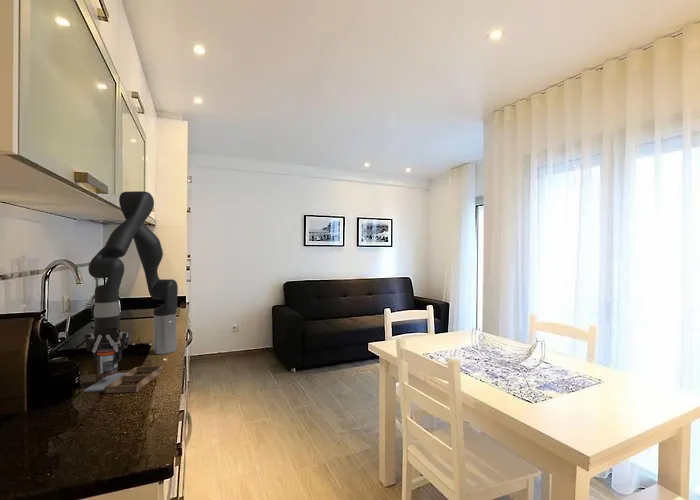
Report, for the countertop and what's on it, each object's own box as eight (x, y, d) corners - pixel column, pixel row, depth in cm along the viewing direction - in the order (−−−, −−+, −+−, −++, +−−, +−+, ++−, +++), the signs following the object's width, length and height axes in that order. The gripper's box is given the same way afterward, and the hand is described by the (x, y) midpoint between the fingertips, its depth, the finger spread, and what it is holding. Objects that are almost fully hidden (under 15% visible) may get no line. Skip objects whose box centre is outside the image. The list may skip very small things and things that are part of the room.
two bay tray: (136, 372, 133) (135, 366, 133) (162, 371, 134) (162, 365, 134) (104, 393, 114) (104, 387, 114) (136, 391, 114) (136, 385, 114)
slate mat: (112, 374, 131) (112, 373, 131) (129, 374, 131) (129, 372, 131) (83, 392, 115) (83, 390, 115) (103, 391, 115) (103, 389, 115)
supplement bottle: (99, 372, 124) (99, 340, 124) (119, 370, 127) (118, 338, 127) (95, 378, 119) (95, 344, 119) (116, 375, 121) (115, 342, 121)
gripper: (134, 312, 127) (134, 358, 127) (92, 313, 126) (92, 359, 126) (122, 315, 120) (123, 364, 120) (78, 317, 119) (78, 366, 119)
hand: (107, 361), depth 123 cm, fingers closed on supplement bottle, 6 cm apart
